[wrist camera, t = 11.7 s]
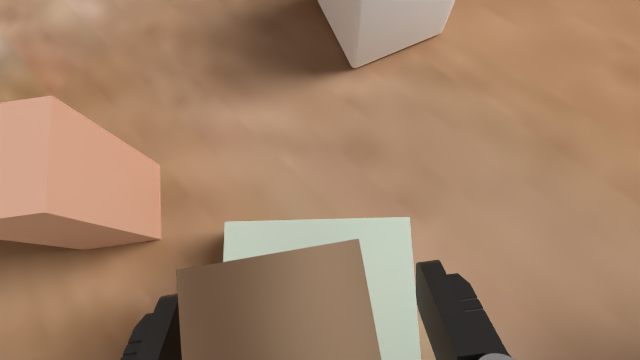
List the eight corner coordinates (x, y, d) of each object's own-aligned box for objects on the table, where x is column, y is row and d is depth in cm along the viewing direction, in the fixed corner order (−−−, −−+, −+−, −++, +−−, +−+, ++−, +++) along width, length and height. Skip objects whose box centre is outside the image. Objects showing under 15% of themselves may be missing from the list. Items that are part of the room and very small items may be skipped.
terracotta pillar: (160, 165, 26) (51, 95, 16) (161, 239, 24) (44, 212, 15) (86, 175, 26) (-65, 112, 16) (84, 249, 24) (-83, 229, 15)
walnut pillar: (356, 256, 20) (358, 238, 10) (375, 359, 18) (399, 453, 9) (262, 272, 20) (176, 270, 10) (275, 375, 19) (190, 483, 9)
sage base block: (398, 227, 24) (409, 217, 20) (410, 401, 22) (426, 428, 18) (242, 230, 25) (224, 221, 21) (236, 403, 22) (215, 429, 18)
